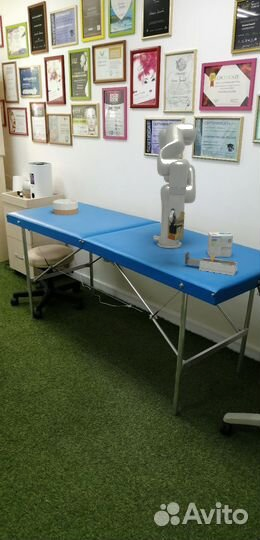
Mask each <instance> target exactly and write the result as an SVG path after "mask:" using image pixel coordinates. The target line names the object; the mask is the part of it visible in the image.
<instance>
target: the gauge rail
mask: <svg viewBox="0 0 260 540" xmlns="http://www.w3.org/2000/svg"><path fill="white" fill-rule="evenodd" d="M202 260H209V261H211V257H202ZM214 261H215V262H207V261H200V266H198V267H199V268H198V271H200V270H201V272H206V271H209V272H208V273H213V272H215V274H219V273H221V275H226V274H227V276H233V277H234V276H235V274H236V272H237V270H238V261H234V260H227V259H220V258H215V259H214Z"/></svg>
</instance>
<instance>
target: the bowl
mask: <svg viewBox="0 0 260 540" xmlns="http://www.w3.org/2000/svg"><path fill="white" fill-rule="evenodd" d="M52 206H53V209H52V210H53V214H54V215H55V214H56V215H57V216H64V215H65V216H74V215H77V214H79V201H78V200H77V199H73V198H60V199H59V198H58V199H56V200H52Z"/></svg>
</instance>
